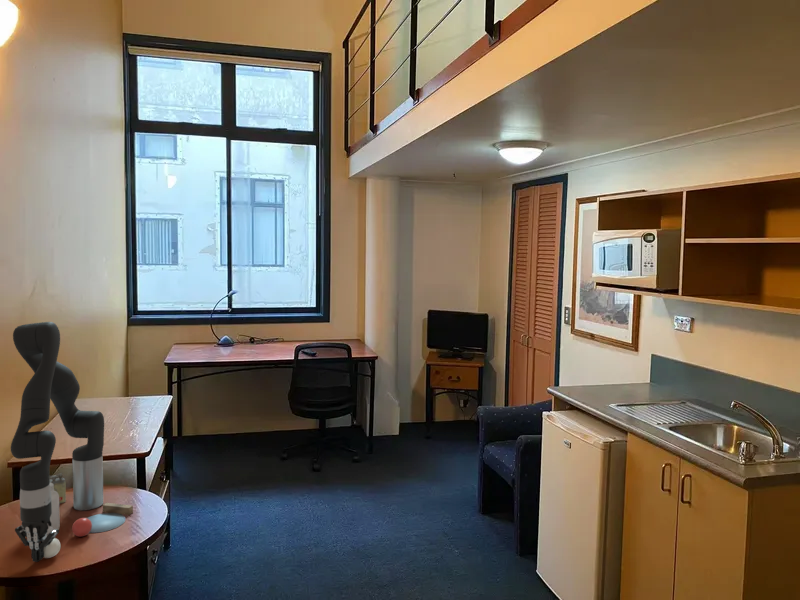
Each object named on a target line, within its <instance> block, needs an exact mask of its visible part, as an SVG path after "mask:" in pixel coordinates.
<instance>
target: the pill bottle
mask: <svg viewBox="0 0 800 600" xmlns="http://www.w3.org/2000/svg"><path fill="white" fill-rule="evenodd" d="M50 488H51V505H52V514H51V517H50V521H51V524H52V525H51V527H52V528H53V529H54V530H56V529H58V530H59V531H60V526H61V525H60V524H61V523H60V520H61V519H60V503H59V494H58V493H57V492H56V491H54V484H53V483H51V482H50Z"/></svg>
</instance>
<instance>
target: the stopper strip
mask: <svg viewBox="0 0 800 600" xmlns="http://www.w3.org/2000/svg"><path fill="white" fill-rule="evenodd" d="M102 513H118V514H122V515H123V514H124V516H130V515H132V514H133V513H134V506H133V505H131V504H121V503H114V502H113V503H112V502H105V503H103V504H102ZM131 513H132V514H131Z"/></svg>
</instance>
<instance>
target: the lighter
mask: <svg viewBox="0 0 800 600" xmlns="http://www.w3.org/2000/svg"><path fill="white" fill-rule="evenodd" d="M49 478H50V482H51V483H53V484H54V491H56V492H57V493H58V494H59V504H63V503H65V502H66V501H67V499H66V498H67V496H66V478H64V477H63V473H62V472H61V473H58V474H55V475H49Z"/></svg>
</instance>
